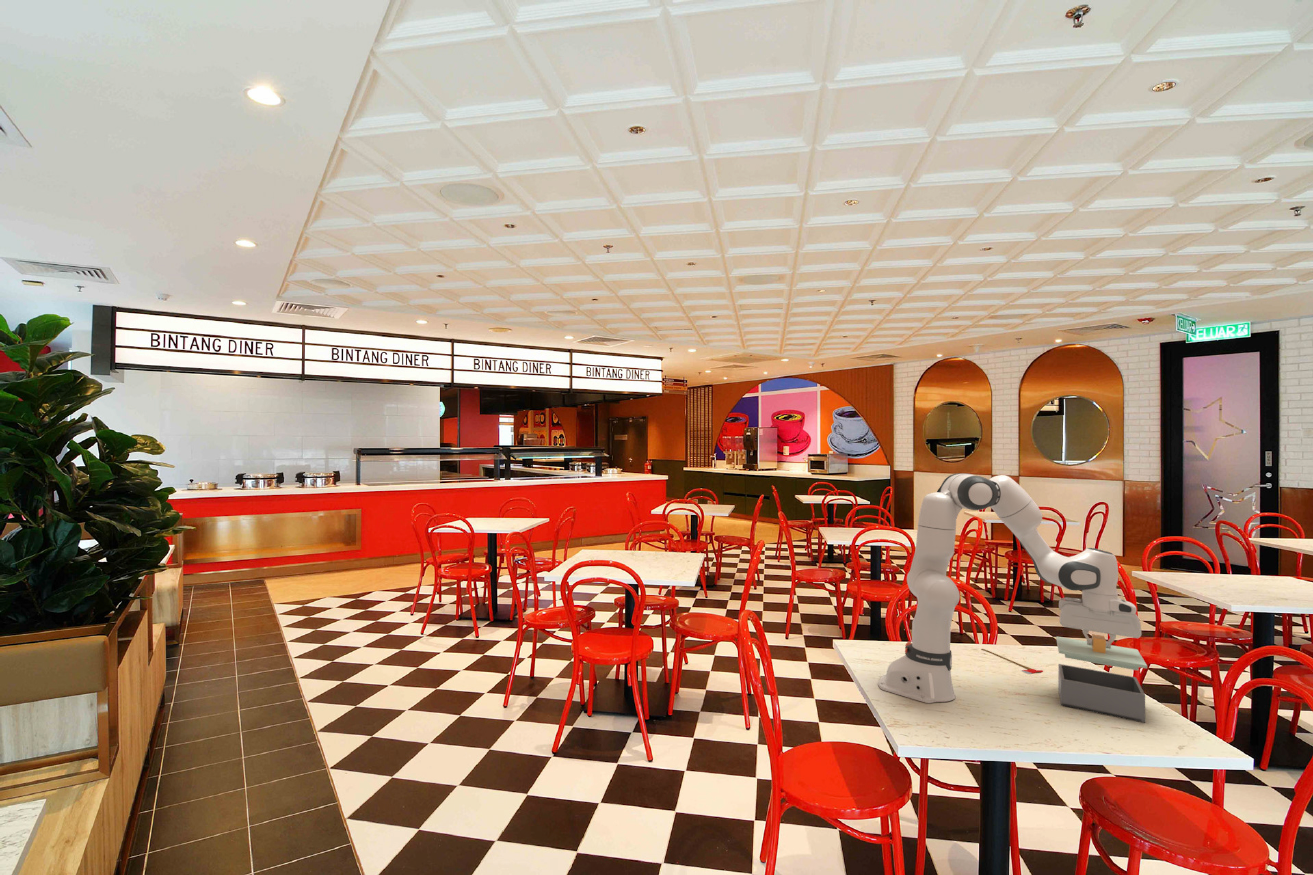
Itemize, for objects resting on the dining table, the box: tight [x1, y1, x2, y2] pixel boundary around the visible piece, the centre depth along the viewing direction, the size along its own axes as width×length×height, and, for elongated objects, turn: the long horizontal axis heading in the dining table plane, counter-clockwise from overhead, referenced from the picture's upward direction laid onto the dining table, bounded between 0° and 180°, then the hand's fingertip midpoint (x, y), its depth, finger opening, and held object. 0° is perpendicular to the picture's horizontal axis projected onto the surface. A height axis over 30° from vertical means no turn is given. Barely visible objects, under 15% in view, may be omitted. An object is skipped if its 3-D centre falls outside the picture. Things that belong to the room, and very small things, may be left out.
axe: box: [980, 648, 1044, 675], centre depth 219 cm, size 26×1×10 cm
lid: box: [1055, 633, 1148, 671], centre depth 182 cm, size 21×17×6 cm
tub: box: [1057, 663, 1146, 724], centre depth 182 cm, size 20×16×8 cm
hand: (1098, 646), depth 182 cm, fingers closed on lid, 3 cm apart
